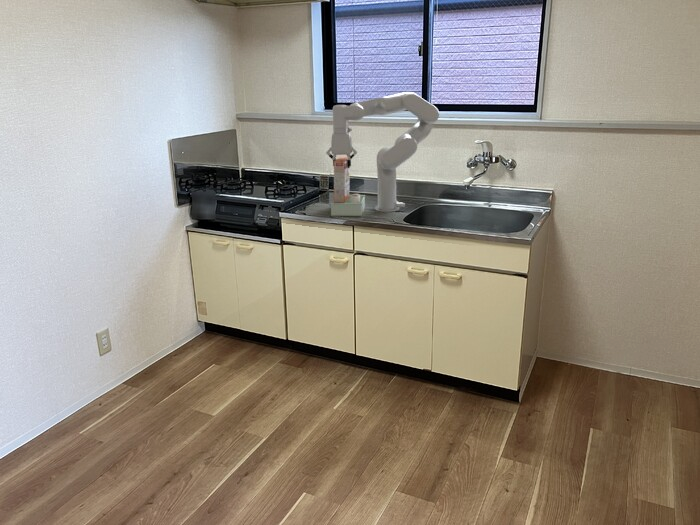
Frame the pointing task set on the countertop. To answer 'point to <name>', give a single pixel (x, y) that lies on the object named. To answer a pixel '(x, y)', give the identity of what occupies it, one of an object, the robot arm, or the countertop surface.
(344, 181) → the cracker box
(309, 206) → the countertop surface
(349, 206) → the tote
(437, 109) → the robot arm
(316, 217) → the countertop surface
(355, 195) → the jar
